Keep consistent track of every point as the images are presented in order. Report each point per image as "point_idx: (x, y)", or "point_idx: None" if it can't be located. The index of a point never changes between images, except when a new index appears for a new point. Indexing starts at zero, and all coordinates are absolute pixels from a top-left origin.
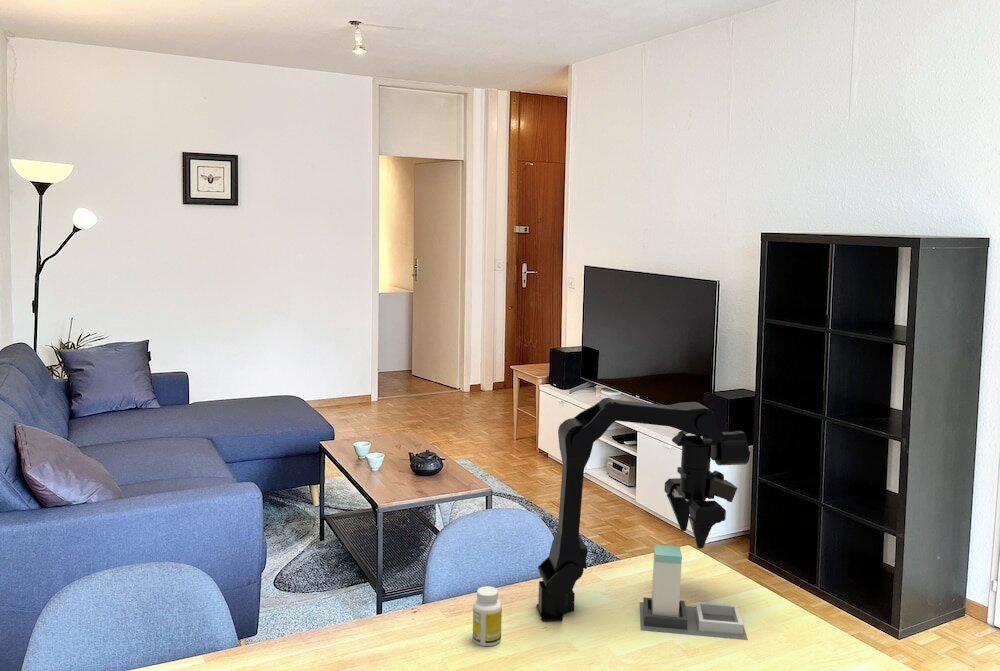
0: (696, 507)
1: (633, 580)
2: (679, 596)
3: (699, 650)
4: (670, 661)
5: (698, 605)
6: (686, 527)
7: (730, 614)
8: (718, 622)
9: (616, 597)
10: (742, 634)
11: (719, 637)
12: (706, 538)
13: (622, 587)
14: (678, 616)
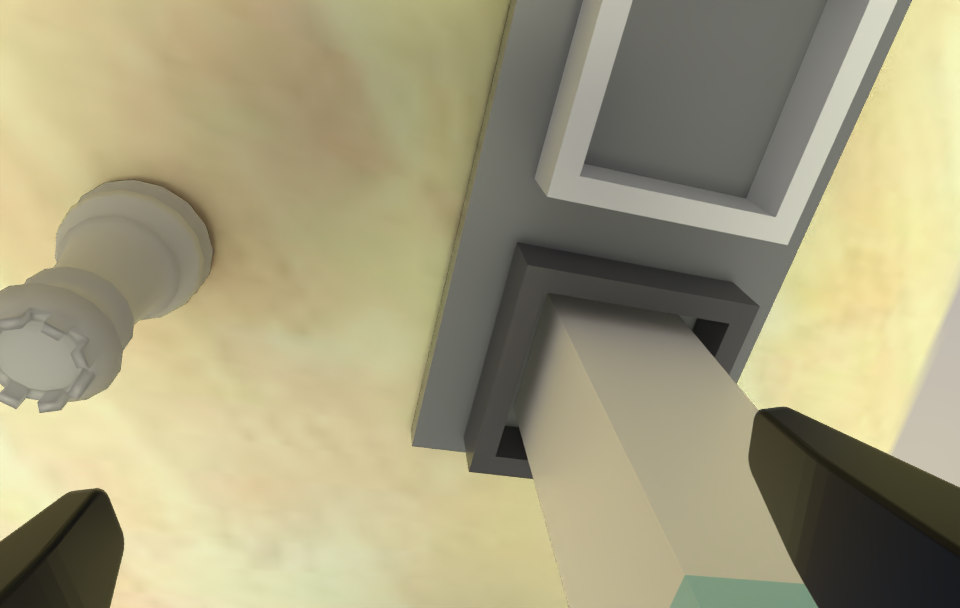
0: None
1: (70, 411)
2: (753, 405)
3: (870, 249)
4: (908, 389)
5: (601, 194)
6: (77, 522)
7: None
8: (836, 135)
9: (310, 511)
10: None
11: (851, 131)
12: (953, 490)
13: (182, 474)
14: (695, 336)
